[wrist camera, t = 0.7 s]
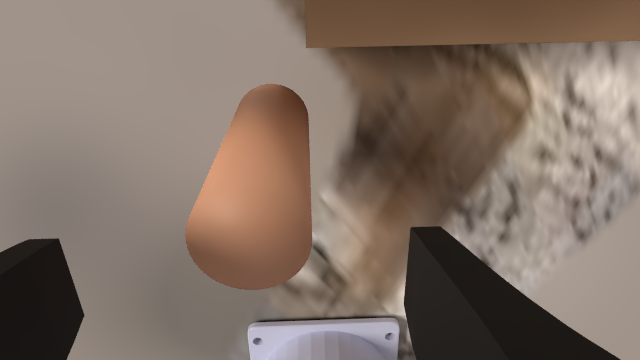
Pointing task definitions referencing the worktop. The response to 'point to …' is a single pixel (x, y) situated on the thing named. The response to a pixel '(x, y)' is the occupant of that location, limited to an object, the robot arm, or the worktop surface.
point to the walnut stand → (468, 22)
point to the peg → (256, 195)
